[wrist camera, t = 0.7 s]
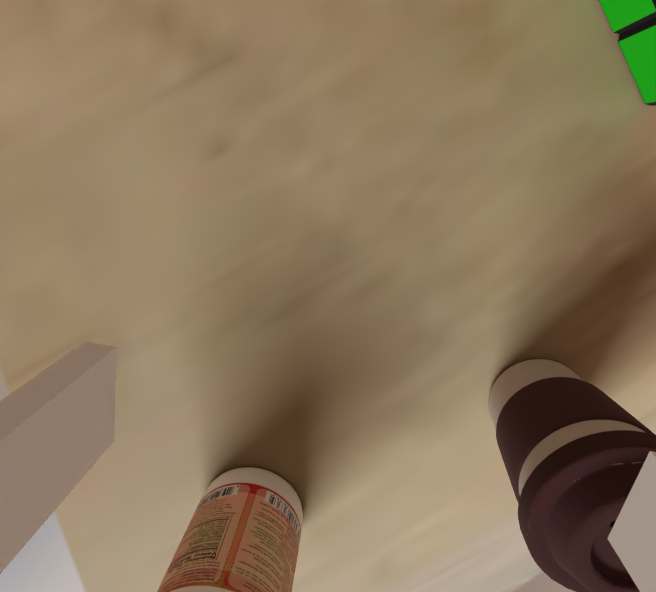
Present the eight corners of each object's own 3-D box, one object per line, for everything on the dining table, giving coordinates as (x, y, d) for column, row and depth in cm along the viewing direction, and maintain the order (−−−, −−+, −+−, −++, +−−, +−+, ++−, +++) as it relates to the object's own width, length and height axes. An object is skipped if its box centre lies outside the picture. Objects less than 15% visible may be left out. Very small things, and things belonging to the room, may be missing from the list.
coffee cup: (571, 461, 38) (697, 646, 24) (455, 436, 38) (510, 604, 24) (618, 355, 35) (794, 494, 21) (491, 328, 35) (579, 447, 21)
